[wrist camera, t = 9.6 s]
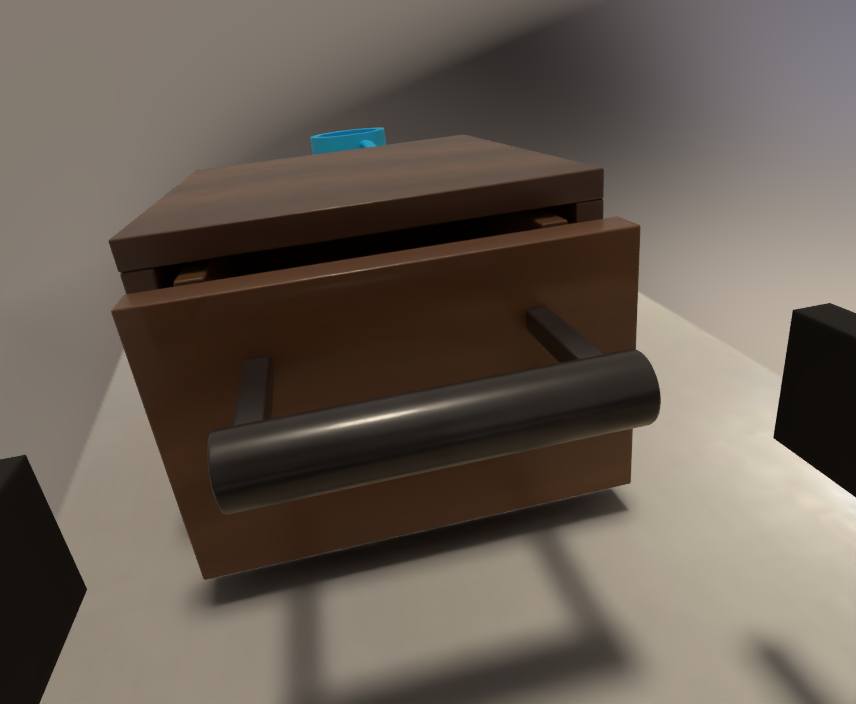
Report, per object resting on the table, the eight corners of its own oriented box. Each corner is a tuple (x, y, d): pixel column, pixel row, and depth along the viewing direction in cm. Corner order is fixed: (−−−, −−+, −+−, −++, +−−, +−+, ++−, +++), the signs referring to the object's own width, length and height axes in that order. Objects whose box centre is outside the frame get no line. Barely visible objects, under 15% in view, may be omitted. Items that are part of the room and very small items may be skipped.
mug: (312, 210, 71) (298, 137, 68) (373, 197, 75) (363, 127, 71) (356, 223, 61) (343, 139, 58) (424, 208, 65) (416, 127, 62)
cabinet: (600, 450, 22) (604, 167, 18) (205, 535, 20) (107, 240, 16) (478, 308, 36) (465, 134, 32) (242, 350, 34) (195, 170, 30)
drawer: (740, 610, 14) (789, 279, 11) (170, 761, 12) (16, 420, 9) (489, 320, 31) (478, 163, 28) (242, 364, 30) (200, 202, 26)
